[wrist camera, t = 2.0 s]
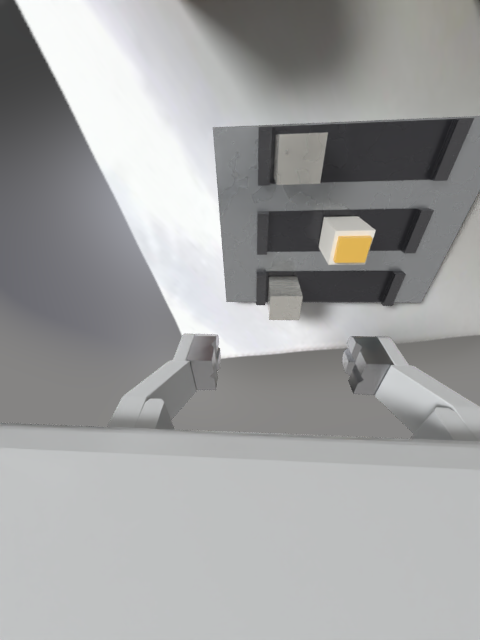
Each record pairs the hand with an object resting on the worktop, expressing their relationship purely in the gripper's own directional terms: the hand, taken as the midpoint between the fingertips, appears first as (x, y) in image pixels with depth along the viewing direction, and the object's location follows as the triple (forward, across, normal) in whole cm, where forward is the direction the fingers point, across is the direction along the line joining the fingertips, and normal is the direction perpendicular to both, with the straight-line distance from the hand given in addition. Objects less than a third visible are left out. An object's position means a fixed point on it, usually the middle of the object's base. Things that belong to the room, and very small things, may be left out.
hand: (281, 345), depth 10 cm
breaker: (+15, -6, 0) cm, 17 cm away
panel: (+17, -6, 0) cm, 18 cm away
